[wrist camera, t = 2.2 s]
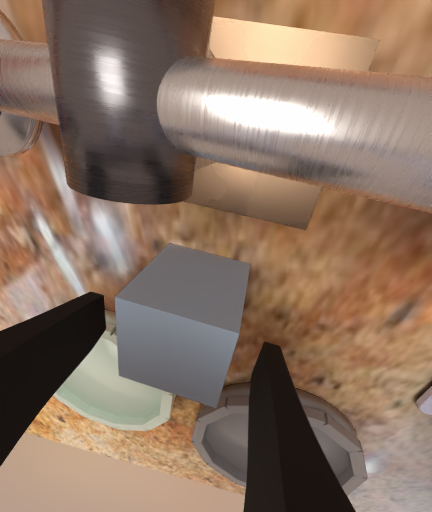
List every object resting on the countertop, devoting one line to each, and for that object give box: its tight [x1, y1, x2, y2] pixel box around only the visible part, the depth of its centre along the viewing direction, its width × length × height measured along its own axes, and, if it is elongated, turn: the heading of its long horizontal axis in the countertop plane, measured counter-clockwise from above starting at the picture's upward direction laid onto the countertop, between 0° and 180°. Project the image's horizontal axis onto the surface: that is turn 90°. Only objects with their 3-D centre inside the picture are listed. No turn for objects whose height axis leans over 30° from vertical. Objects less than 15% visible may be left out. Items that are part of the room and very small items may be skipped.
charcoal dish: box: [191, 382, 368, 495], centre depth 17 cm, size 12×12×2 cm
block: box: [115, 243, 251, 408], centre depth 11 cm, size 4×4×5 cm
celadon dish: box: [53, 309, 176, 431], centre depth 18 cm, size 12×12×2 cm
